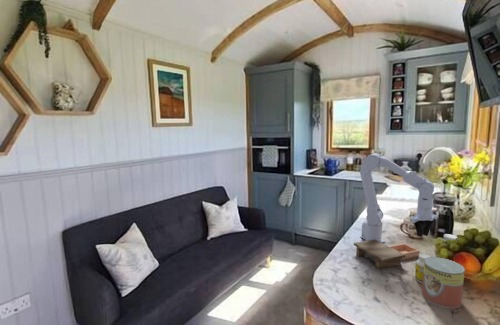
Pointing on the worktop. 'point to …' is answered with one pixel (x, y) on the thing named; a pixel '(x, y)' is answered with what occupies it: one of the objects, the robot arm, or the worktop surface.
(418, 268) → the supplement bottle
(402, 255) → the overhang
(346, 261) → the worktop surface
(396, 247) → the peach open box
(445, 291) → the canned food
